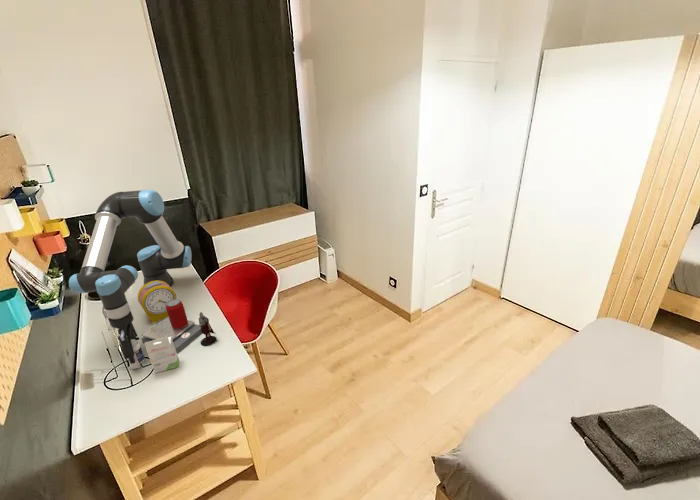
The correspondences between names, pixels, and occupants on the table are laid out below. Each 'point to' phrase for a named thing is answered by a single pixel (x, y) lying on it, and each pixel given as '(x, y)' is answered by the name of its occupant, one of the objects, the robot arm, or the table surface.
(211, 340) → the figurine
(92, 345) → the table surface
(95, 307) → the table surface
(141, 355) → the pill bottle
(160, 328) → the silver square platform
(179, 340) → the scale
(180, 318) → the beverage can
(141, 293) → the alarm clock
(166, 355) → the ink box
